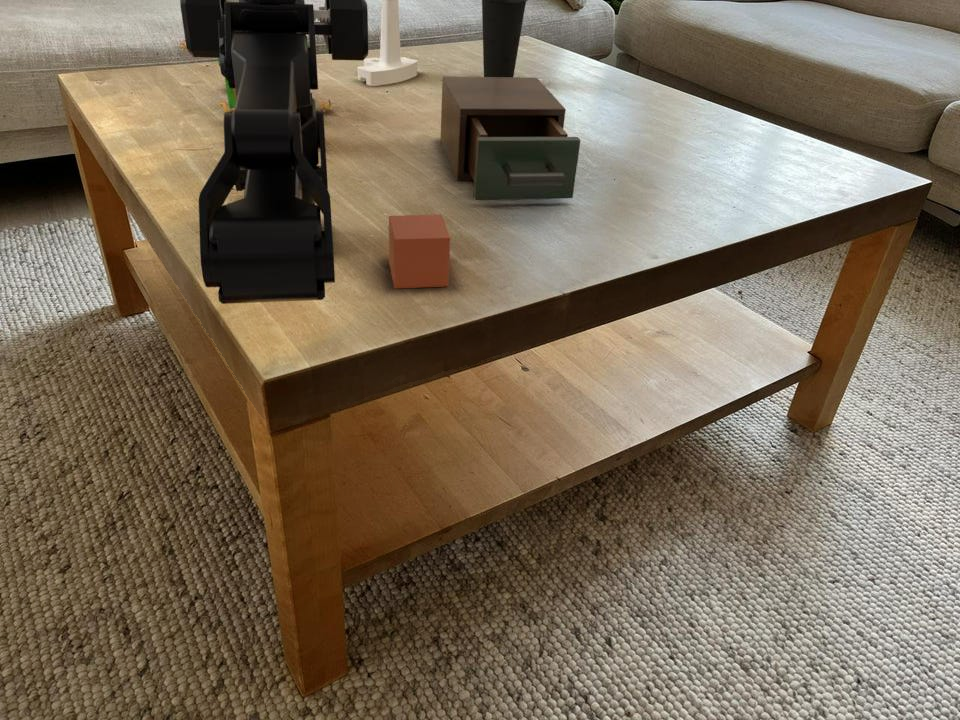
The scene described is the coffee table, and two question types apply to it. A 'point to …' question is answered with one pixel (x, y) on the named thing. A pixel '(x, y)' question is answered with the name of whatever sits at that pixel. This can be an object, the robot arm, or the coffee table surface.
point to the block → (419, 251)
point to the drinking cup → (501, 35)
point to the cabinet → (488, 108)
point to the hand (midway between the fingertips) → (279, 10)
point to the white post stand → (388, 52)
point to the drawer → (520, 157)
